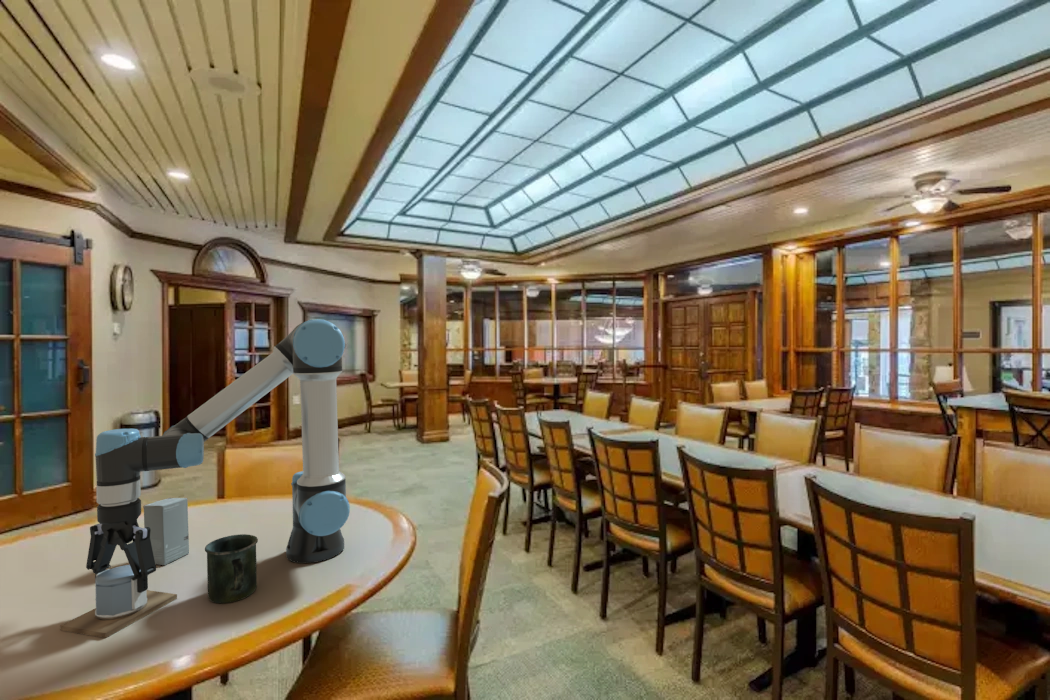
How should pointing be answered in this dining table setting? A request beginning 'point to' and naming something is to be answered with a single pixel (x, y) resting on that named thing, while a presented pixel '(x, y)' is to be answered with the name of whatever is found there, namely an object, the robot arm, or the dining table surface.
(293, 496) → the robot arm
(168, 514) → the skincare box
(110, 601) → the cap
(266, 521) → the dining table surface
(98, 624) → the base board
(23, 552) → the dining table surface
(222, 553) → the mug
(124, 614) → the stud
